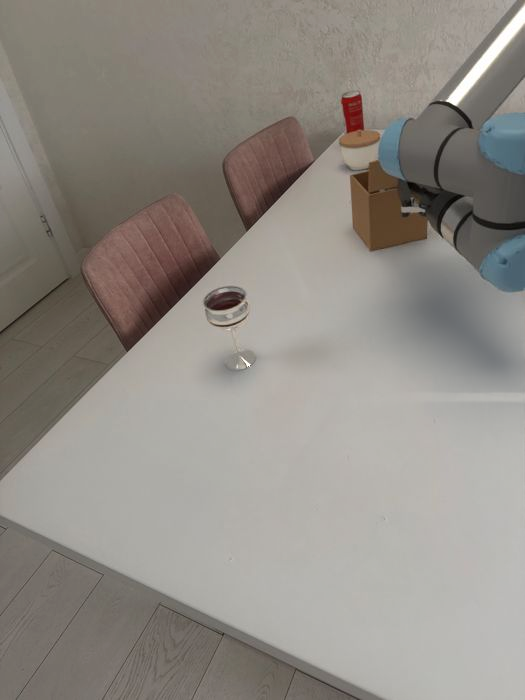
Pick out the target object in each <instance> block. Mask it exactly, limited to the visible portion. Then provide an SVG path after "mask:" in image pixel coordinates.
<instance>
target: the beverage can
mask: <svg viewBox="0 0 525 700" xmlns="http://www.w3.org/2000/svg"><path fill="white" fill-rule="evenodd" d="M340 103H341V114H342V115H341V116H342V124H343V133H344V134H343V135H345V134H347V133H350V132H354V131H357V130H365V123H364V121H365V120H364V110H363V109H364V108H363V97H362V94H361V92H360V90H349V91H346V92H344V93H342V95H341V100H340Z"/></svg>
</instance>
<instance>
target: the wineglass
mask: <svg viewBox="0 0 525 700" xmlns="http://www.w3.org/2000/svg"><path fill="white" fill-rule="evenodd" d="M247 295H248V293H247V290H245V289H244V288H243V287H241V286H239V285H224V286H219V287H217V288H214V289H212V290H211V291H209V292H207V293H206V295H205V296H204V297H203V298H202V306H203V308H205V309H204V314H205V318H206V321H207V322H208V323H209V324H210V325H211V326H212V328H215V329H217V330H221V331H225V332H230V334H231V337H232V340H233V343H234V347H235V351H232V352H231V353H230V354H229V355H227V356H226V358H225V362H224V363H225V366H226V365H227V366H226V367H227V368H228V367H229V369H230V370H234V371H240V370H245V369H247V368H249V367H251V366H252V365H254V362H255V361H256V354H255V352H253V351H252V350H249V349H240V346H239V341H238V337H237V336H238V335H237V331H236V330H237V329H239V328H241V327H242V326H243V325H244V324H245V323H246V322H247V320H248V319H249V316H250V312H251V306H250V305H251V304H250V302H249V300H248V298H247ZM250 365H251V366H250ZM248 366H249V367H248Z"/></svg>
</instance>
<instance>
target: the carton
mask: <svg viewBox="0 0 525 700" xmlns="http://www.w3.org/2000/svg"><path fill="white" fill-rule="evenodd" d="M349 183H350V185H349V186H350V198H351V199H350V200H351V201H350V202H351V219H352V220H351V221H352V228H353V230H354V231H355V232H356V234H357V235H358V236H359V238H360V239H361V240H362V242H363V243H364V245H365V246H366V247H367V249H368V250H369V251H370V252H373V251H378V250H381V249H386V248H390V247H394V246H400V245H404V244H407V243H412V242H417V241H420V240H426V239H427V238H428V229H429V227H428V225H429V221H428V219H427V218H424V217H421V216H420V215H419V214H418V213H410V215H409V216H408V217H402V216H401V202H400V199H399V196H398V186H396V187H395V189H392V190H387V191H383V192H379V190H378V191H374V192H369V170H365V171H361V172H357V173H352V174H350V175H349ZM411 197H413V198H414V201H415V202H416V204H419V203H420V202H419V201H418V200H417V199H416V198H415V197H414V196H413V195H412V194H411Z"/></svg>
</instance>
